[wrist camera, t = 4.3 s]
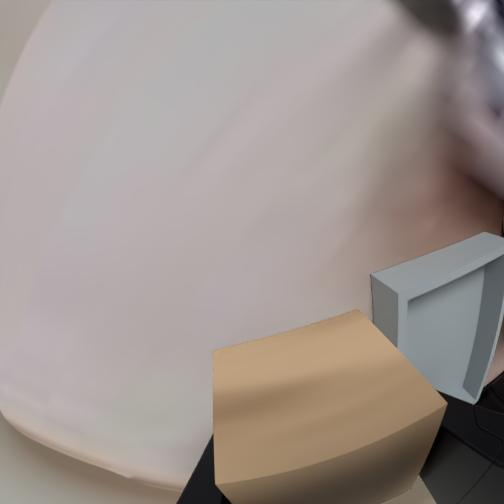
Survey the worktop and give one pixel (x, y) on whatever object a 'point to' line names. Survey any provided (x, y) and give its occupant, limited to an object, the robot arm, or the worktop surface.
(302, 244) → the worktop surface
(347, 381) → the block
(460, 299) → the tray
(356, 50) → the worktop surface
